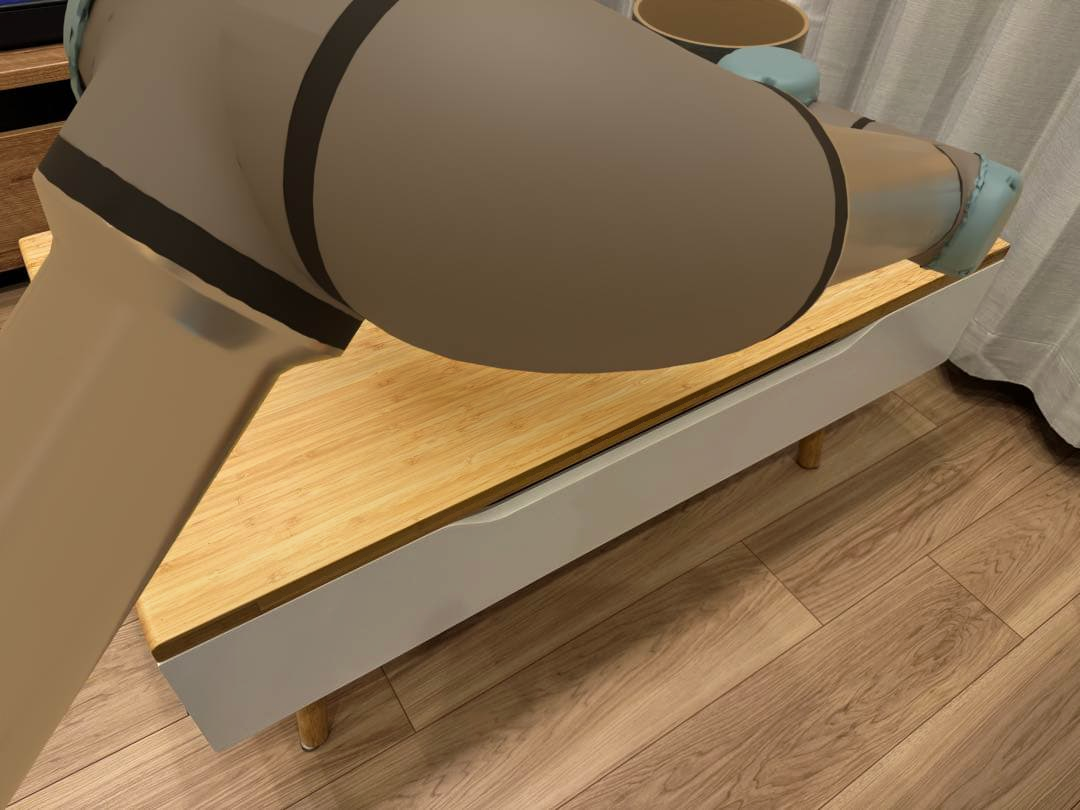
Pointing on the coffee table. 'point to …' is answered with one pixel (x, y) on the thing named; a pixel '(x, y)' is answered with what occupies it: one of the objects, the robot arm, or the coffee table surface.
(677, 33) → the planter
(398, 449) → the coffee table surface
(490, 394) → the coffee table surface
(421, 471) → the coffee table surface
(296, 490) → the coffee table surface
